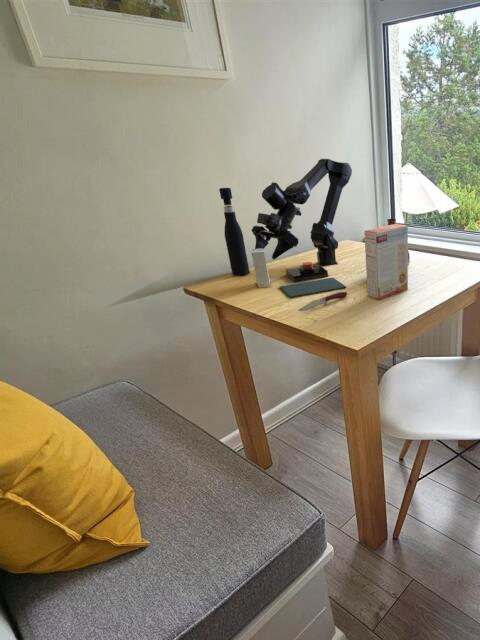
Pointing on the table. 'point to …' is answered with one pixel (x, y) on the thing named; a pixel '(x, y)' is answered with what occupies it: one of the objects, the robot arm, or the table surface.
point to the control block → (306, 273)
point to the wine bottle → (234, 237)
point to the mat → (312, 287)
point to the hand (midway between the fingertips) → (264, 256)
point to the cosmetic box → (260, 267)
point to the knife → (324, 300)
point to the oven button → (308, 265)
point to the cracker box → (386, 260)
